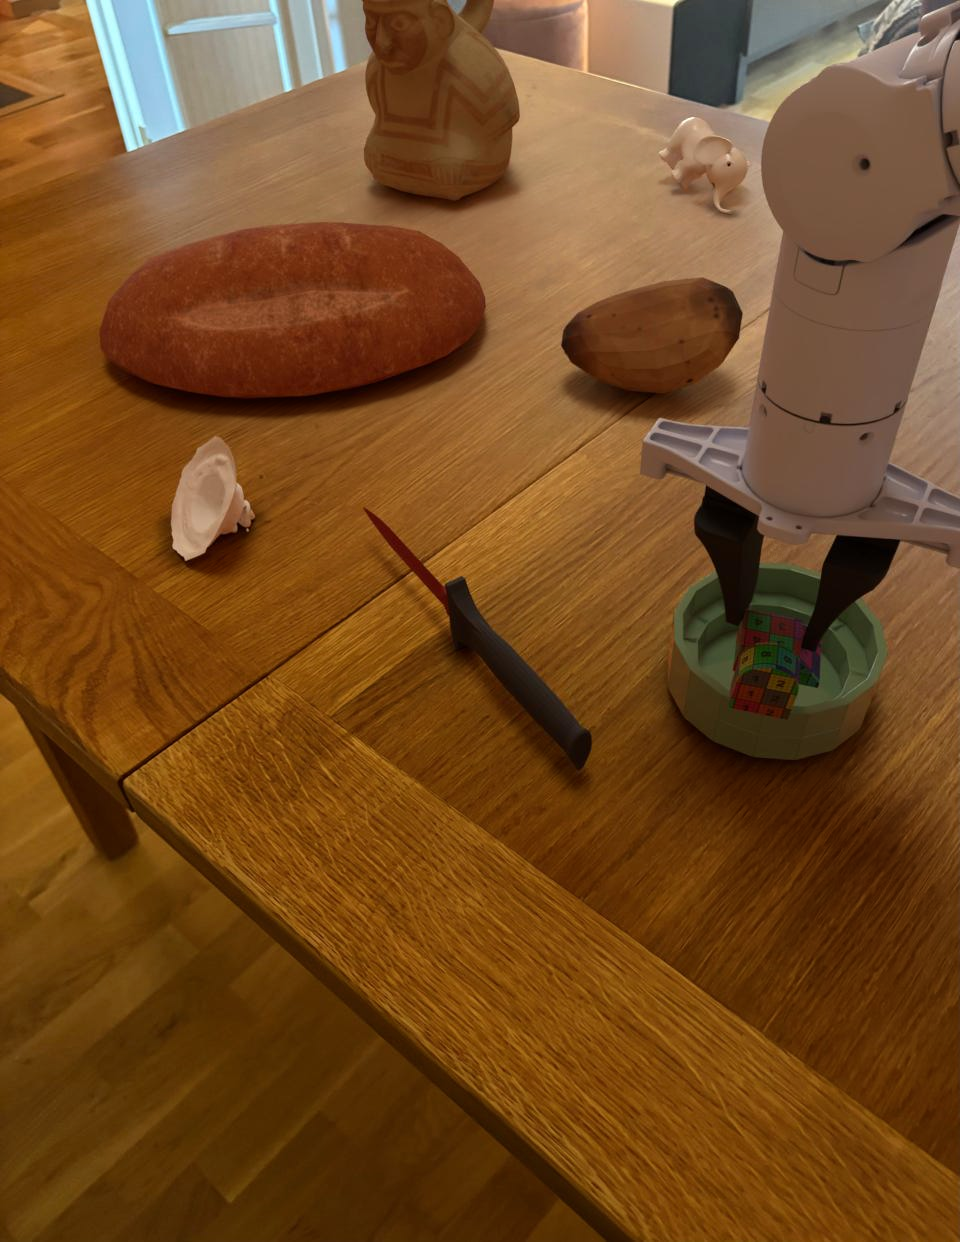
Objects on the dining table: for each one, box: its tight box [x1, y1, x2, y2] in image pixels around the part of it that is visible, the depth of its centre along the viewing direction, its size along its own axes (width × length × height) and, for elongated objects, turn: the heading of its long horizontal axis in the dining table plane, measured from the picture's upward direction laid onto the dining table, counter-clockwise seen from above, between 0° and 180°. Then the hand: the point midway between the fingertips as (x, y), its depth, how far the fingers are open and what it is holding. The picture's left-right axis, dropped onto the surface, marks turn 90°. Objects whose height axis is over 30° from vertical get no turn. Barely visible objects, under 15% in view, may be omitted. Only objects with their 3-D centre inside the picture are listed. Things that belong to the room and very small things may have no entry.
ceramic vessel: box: [361, 0, 521, 201], centre depth 99 cm, size 17×20×25 cm
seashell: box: [170, 435, 256, 562], centre depth 68 cm, size 8×5×8 cm
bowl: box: [667, 561, 889, 761], centre depth 57 cm, size 11×11×4 cm
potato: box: [560, 277, 744, 394], centre depth 77 cm, size 8×14×8 cm
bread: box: [99, 221, 487, 399], centre depth 84 cm, size 23×32×9 cm
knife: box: [362, 506, 593, 771], centre depth 60 cm, size 24×2×5 cm, turn 33°
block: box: [728, 609, 822, 720], centre depth 49 cm, size 6×4×3 cm
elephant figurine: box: [658, 116, 752, 215], centre depth 101 cm, size 7×12×6 cm
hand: (775, 623), depth 50 cm, fingers closed on block, 3 cm apart
